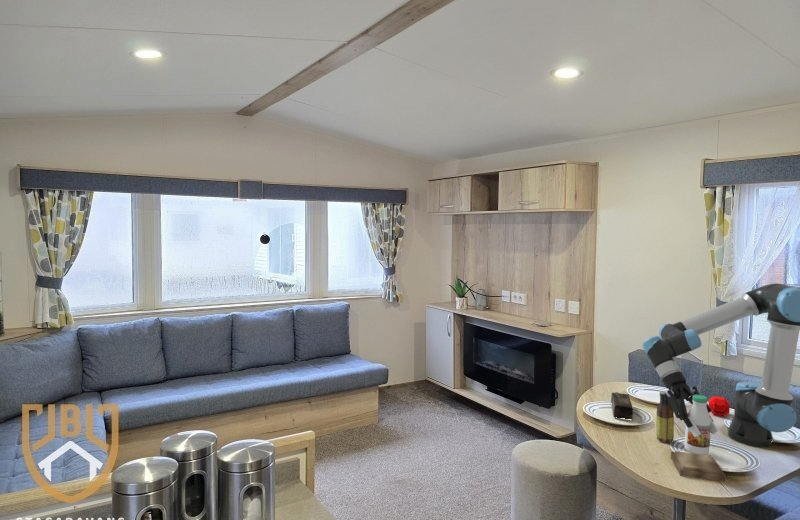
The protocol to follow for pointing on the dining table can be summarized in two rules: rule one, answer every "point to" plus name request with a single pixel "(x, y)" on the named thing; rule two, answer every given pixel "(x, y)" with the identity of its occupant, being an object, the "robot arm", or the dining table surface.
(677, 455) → the podium
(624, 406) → the dark brown block
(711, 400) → the ball
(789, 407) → the robot arm
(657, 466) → the dining table surface
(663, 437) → the sauce bottle
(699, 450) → the milk bottle
